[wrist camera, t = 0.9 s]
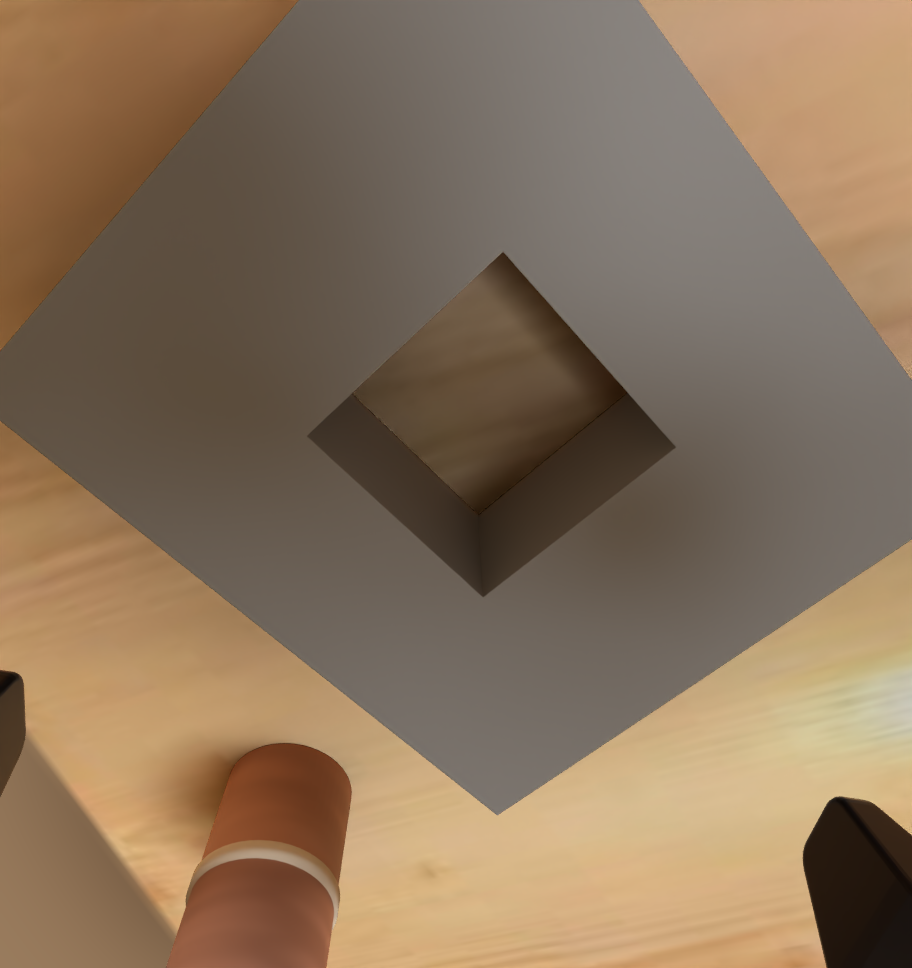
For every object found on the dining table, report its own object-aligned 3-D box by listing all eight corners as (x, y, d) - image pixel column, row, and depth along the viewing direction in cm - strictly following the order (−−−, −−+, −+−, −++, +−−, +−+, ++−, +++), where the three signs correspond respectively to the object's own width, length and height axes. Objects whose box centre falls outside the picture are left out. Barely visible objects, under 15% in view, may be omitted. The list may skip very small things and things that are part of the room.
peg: (381, 792, 26) (353, 1055, 19) (294, 854, 28) (238, 1123, 20) (284, 719, 25) (216, 971, 18) (198, 788, 26) (100, 1050, 19)
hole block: (895, 420, 21) (989, 487, 17) (490, 711, 25) (497, 815, 21) (476, -143, 16) (482, -216, 12) (54, 339, 20) (-36, 393, 16)
